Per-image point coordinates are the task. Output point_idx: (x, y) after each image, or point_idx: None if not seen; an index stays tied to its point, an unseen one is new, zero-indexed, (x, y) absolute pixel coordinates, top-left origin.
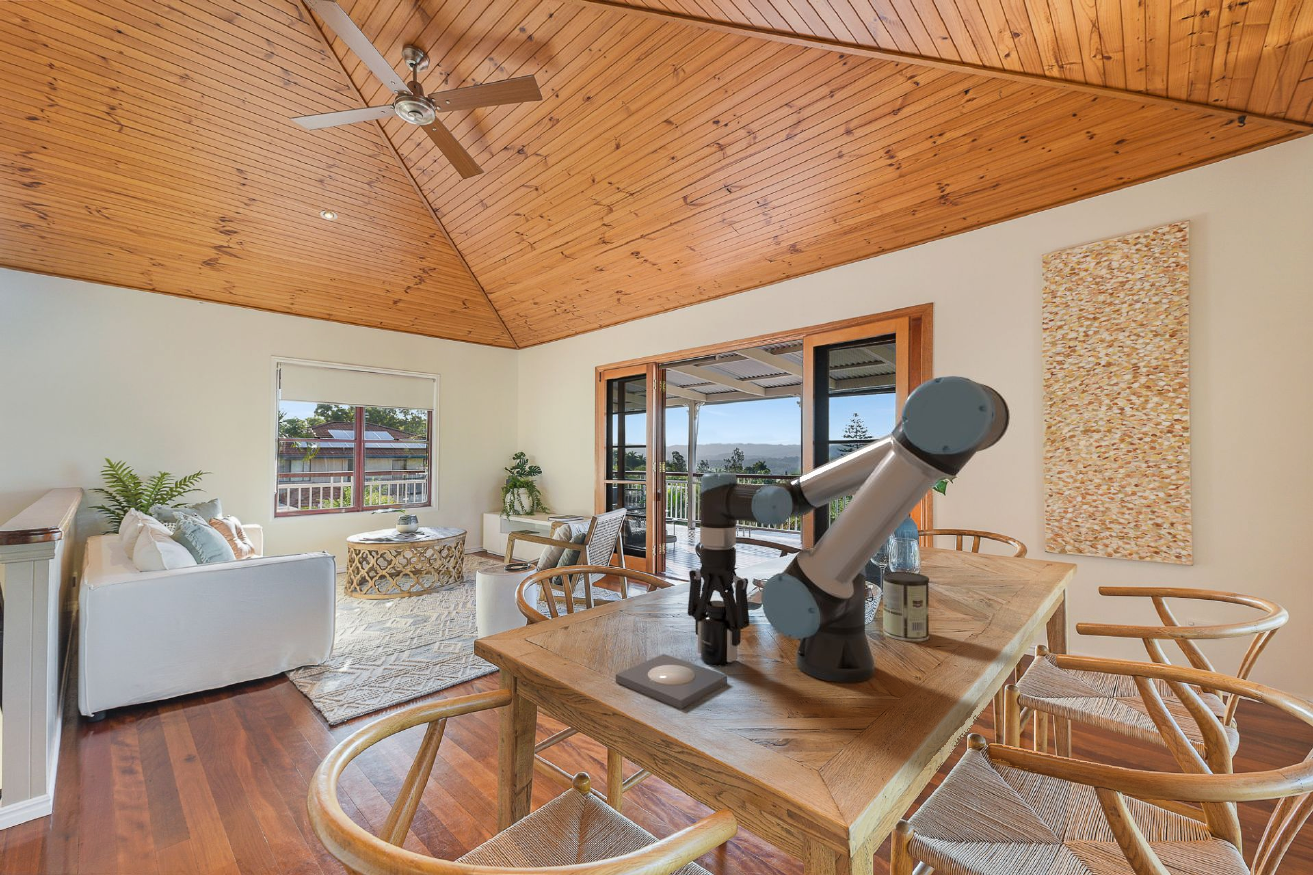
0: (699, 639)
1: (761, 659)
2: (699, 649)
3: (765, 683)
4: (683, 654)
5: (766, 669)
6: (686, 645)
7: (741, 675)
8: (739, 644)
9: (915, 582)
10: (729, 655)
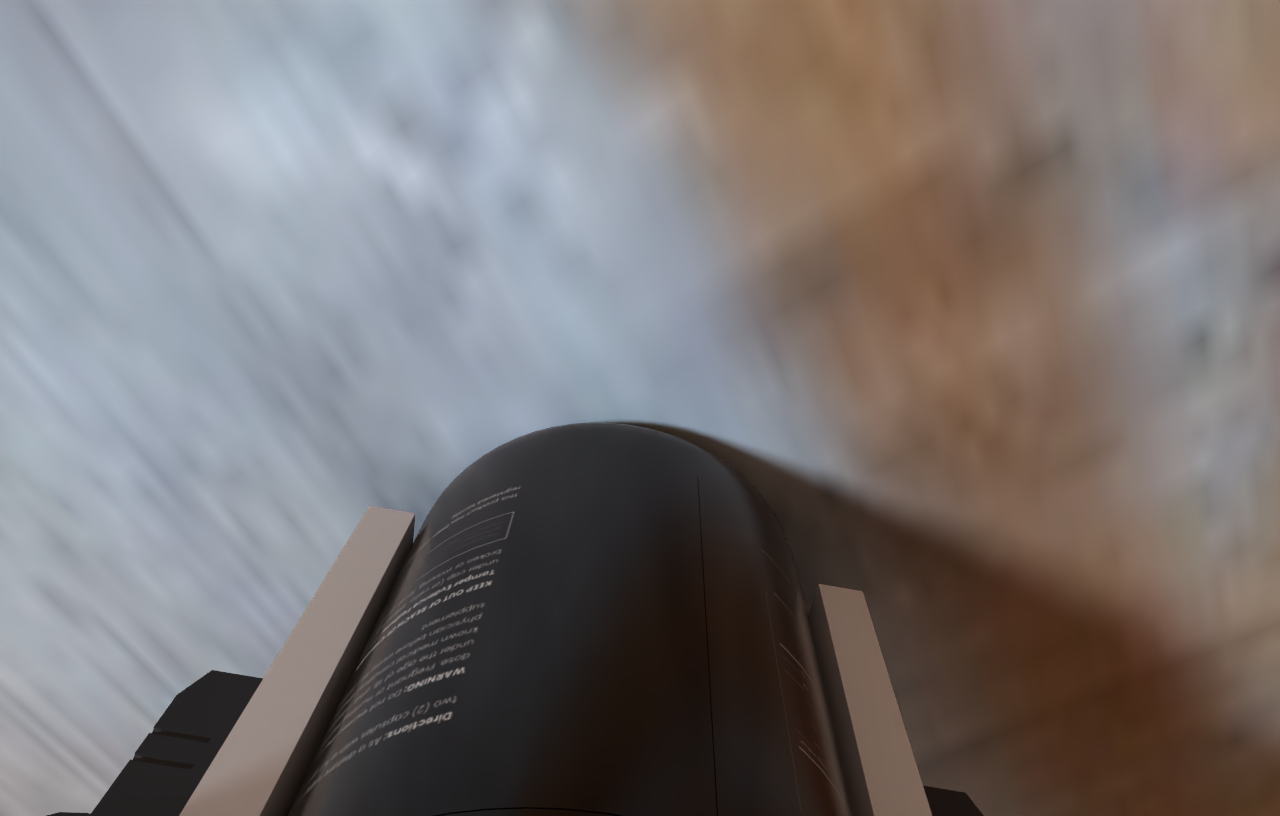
0: None
1: (1109, 292)
2: None
3: (1236, 812)
4: (212, 608)
5: (1213, 542)
6: (30, 356)
7: (978, 768)
8: (963, 797)
9: None
10: None
